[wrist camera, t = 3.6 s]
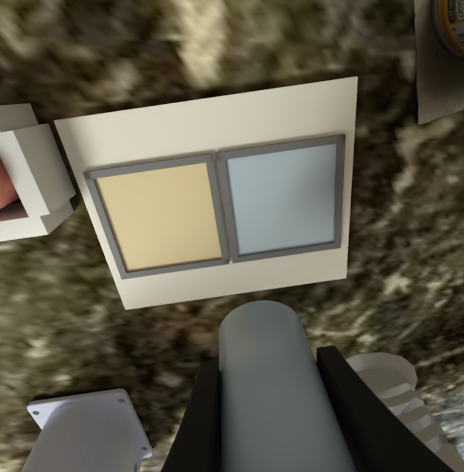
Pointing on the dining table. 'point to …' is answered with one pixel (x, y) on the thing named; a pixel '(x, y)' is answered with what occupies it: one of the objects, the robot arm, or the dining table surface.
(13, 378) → the dining table surface
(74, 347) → the dining table surface
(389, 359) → the french press
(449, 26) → the condiment
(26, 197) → the button housing
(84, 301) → the dining table surface
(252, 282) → the sheet
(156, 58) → the dining table surface
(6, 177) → the button
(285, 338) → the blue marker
